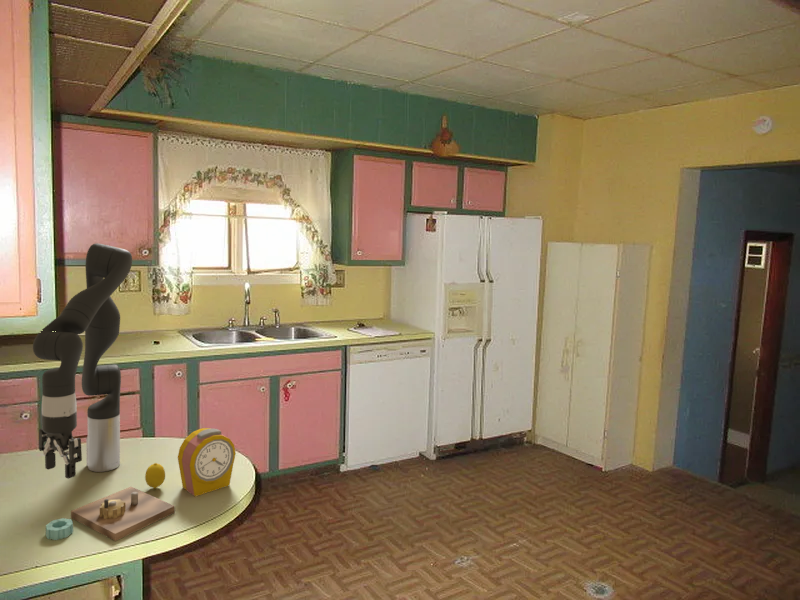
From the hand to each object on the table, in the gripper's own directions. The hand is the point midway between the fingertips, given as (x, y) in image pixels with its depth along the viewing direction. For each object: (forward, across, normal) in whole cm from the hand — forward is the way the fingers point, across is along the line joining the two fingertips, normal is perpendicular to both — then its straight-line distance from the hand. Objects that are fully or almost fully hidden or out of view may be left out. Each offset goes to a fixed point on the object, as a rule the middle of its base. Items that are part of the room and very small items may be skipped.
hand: (60, 472), depth 149 cm
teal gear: (+16, 0, 0) cm, 16 cm away
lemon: (+16, -2, +30) cm, 34 cm away
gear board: (+16, +4, +15) cm, 22 cm away
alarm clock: (+16, +9, +40) cm, 44 cm away
